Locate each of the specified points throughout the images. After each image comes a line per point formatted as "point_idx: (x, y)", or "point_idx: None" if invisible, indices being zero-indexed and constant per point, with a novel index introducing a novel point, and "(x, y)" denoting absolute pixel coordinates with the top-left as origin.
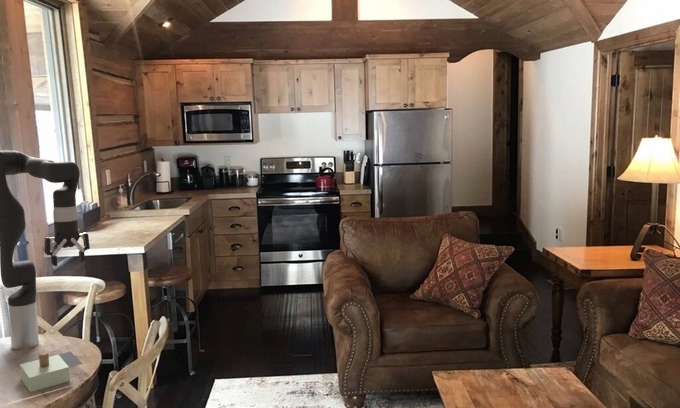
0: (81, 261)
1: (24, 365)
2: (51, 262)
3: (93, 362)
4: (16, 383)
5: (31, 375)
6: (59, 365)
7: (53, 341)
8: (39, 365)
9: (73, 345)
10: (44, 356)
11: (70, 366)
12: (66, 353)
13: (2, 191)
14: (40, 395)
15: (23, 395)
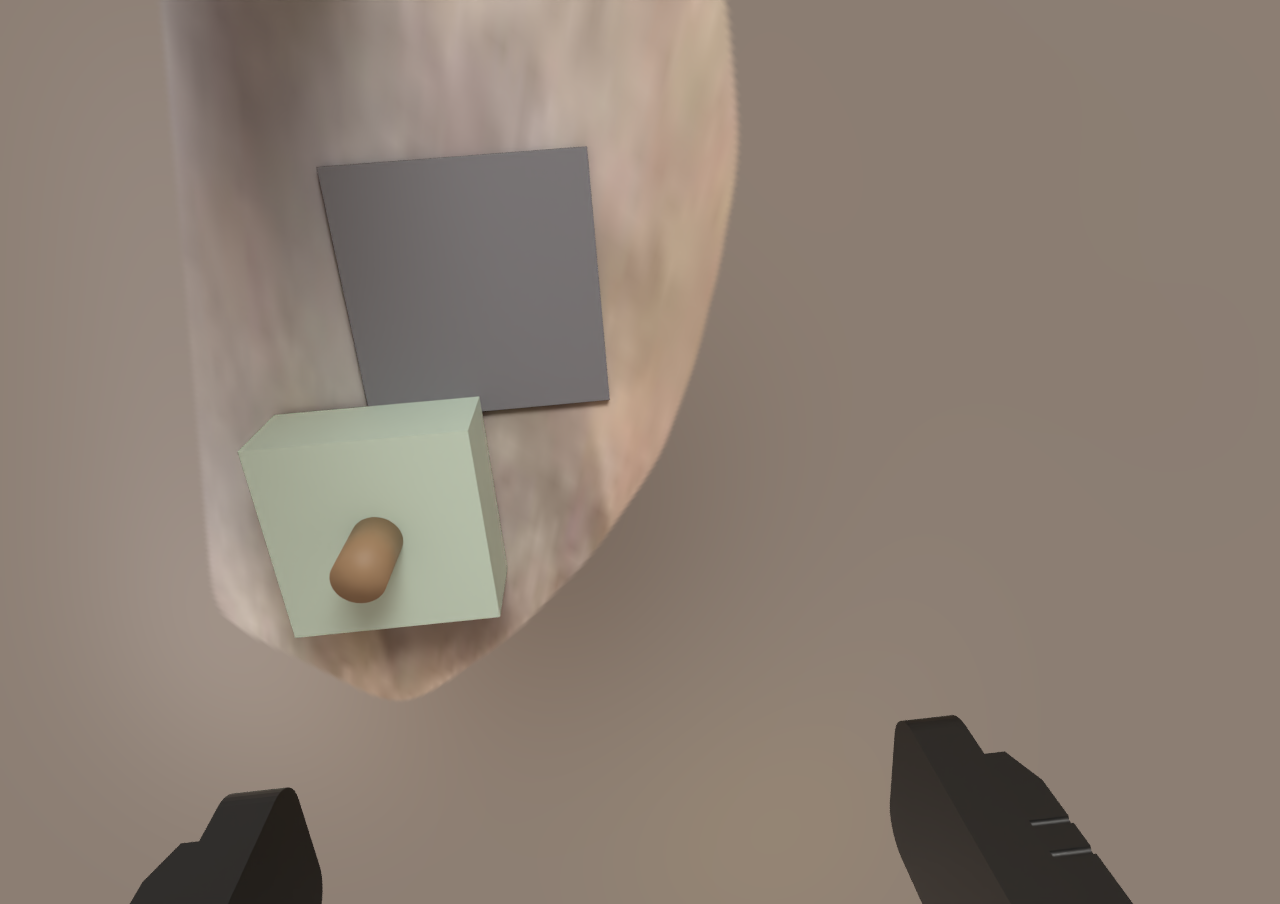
0: (907, 847)
1: (265, 480)
2: (136, 893)
3: (668, 400)
4: None
5: (306, 618)
6: (456, 576)
7: None
8: (350, 524)
9: (632, 10)
10: (362, 600)
11: (541, 400)
12: (557, 171)
13: None
14: None
15: None
